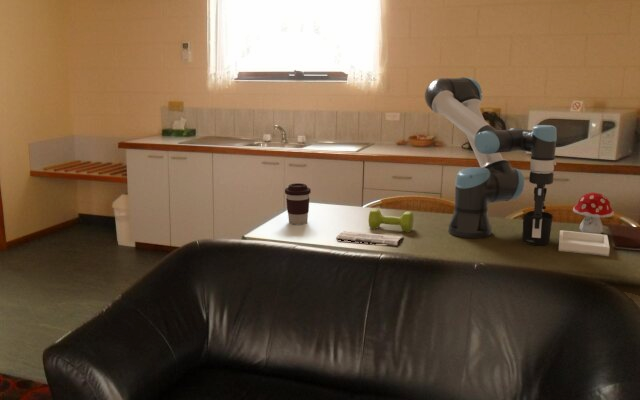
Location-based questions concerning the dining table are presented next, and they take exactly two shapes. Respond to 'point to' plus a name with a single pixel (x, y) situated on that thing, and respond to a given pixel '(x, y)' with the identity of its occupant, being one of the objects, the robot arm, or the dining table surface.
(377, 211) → the dumbbell
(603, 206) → the decorative mushroom
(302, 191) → the coffee cup
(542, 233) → the pen holder
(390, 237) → the newspaper
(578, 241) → the tray
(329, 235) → the dining table surface
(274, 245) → the dining table surface
